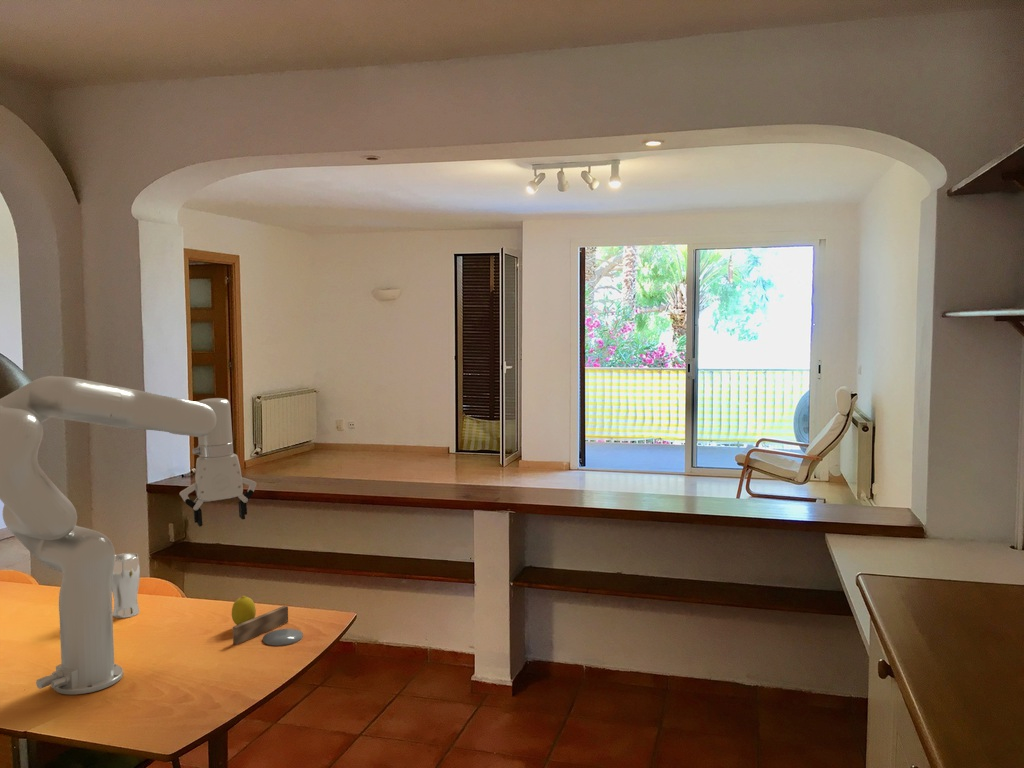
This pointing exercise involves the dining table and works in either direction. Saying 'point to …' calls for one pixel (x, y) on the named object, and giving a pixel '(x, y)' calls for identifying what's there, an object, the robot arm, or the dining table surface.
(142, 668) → the dining table surface
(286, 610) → the walnut wall
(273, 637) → the coaster
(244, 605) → the lemon
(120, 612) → the beer glass
